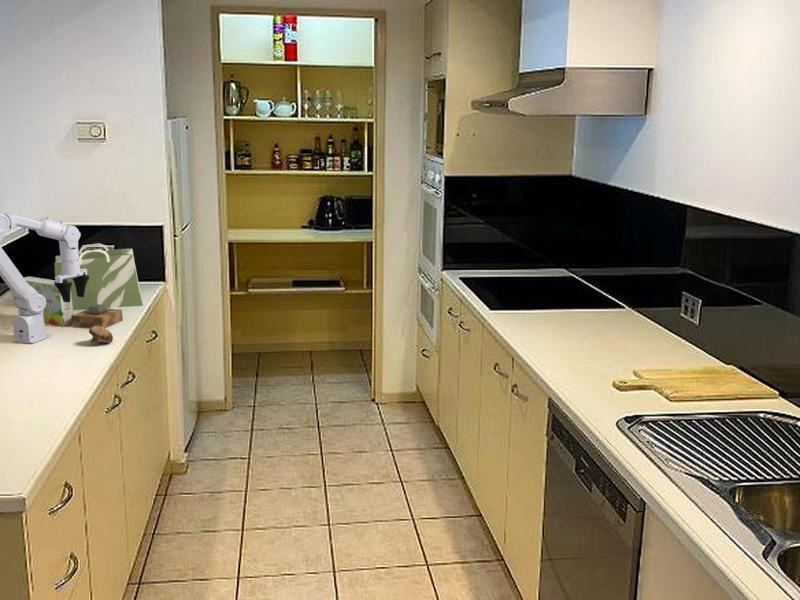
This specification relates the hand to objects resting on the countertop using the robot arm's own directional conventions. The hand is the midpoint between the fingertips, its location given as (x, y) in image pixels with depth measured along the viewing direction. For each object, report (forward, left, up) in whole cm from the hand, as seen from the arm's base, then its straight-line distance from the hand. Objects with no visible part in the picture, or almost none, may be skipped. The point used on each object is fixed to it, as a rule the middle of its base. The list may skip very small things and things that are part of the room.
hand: (73, 299), depth 281 cm
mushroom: (-13, -19, -11) cm, 25 cm away
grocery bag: (+32, +13, -11) cm, 36 cm away
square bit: (+8, -3, -11) cm, 13 cm away
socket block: (+8, -3, -10) cm, 13 cm away
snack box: (+6, +16, -11) cm, 20 cm away
